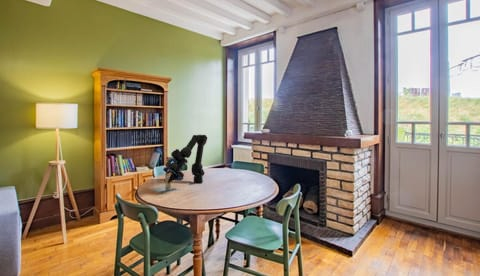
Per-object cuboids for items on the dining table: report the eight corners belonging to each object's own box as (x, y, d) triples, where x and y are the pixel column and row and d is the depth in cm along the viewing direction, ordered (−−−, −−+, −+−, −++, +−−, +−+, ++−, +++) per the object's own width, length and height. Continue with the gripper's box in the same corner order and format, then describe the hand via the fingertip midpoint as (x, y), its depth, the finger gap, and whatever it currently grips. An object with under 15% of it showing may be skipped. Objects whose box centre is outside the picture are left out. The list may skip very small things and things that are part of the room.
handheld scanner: (183, 180, 219) (183, 157, 218) (166, 179, 223) (165, 156, 221) (186, 179, 224) (185, 156, 222) (168, 178, 227) (168, 156, 226)
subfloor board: (147, 190, 191) (147, 188, 191) (164, 186, 202) (164, 184, 202) (163, 196, 178) (163, 193, 178) (180, 191, 189) (180, 189, 189)
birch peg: (171, 188, 187) (171, 173, 186) (169, 189, 183) (169, 174, 182) (166, 188, 187) (166, 173, 186) (164, 189, 184) (164, 174, 183)
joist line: (173, 188, 191) (173, 188, 191) (177, 189, 189) (177, 189, 189) (158, 192, 182) (158, 192, 182) (162, 193, 179) (162, 193, 179)
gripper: (164, 156, 192) (151, 173, 185) (180, 159, 180) (166, 178, 173) (174, 165, 199) (161, 182, 192) (189, 168, 187) (176, 187, 179)
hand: (166, 182), depth 184 cm, fingers closed on birch peg, 4 cm apart
